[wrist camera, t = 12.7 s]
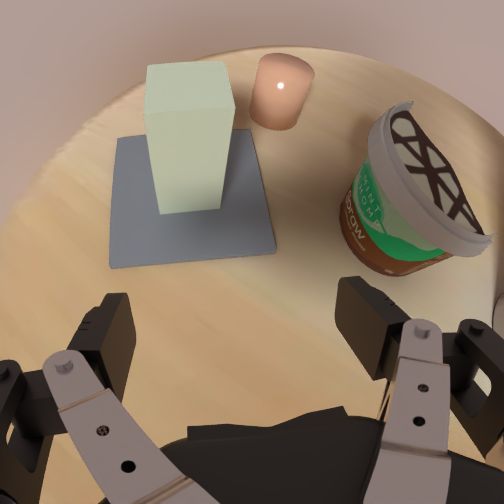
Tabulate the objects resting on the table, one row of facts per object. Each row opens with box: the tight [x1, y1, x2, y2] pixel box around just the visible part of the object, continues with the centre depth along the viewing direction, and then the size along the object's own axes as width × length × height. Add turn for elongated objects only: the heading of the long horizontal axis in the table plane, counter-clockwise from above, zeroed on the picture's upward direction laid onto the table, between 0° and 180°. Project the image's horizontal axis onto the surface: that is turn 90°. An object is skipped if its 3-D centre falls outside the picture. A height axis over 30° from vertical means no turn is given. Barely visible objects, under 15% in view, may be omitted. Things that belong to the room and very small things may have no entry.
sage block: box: [143, 61, 235, 214], centre depth 19 cm, size 4×4×10 cm
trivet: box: [109, 129, 276, 269], centre depth 24 cm, size 12×12×1 cm
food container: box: [339, 101, 497, 277], centre depth 21 cm, size 12×6×10 cm, turn 19°
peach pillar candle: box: [249, 53, 315, 130], centre depth 27 cm, size 5×5×6 cm
